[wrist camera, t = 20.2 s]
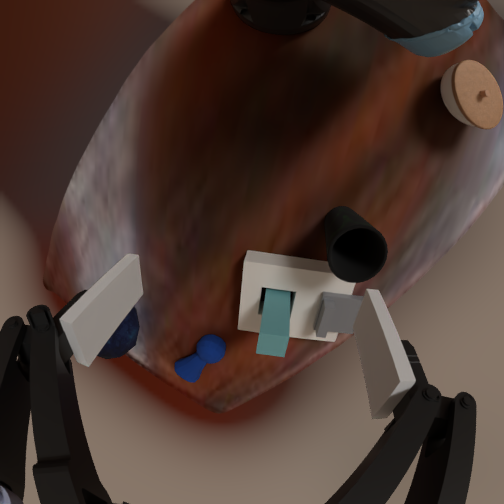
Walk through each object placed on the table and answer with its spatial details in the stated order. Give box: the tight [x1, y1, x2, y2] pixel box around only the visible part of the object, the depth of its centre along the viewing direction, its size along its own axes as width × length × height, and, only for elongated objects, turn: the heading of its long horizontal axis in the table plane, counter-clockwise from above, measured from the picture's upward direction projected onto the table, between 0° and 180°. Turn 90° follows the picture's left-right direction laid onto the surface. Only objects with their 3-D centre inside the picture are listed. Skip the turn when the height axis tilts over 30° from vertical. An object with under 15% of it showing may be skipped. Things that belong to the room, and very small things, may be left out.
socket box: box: [238, 250, 355, 342], centre depth 46 cm, size 14×18×4 cm
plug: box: [256, 288, 290, 357], centre depth 42 cm, size 4×4×14 cm
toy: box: [175, 334, 226, 382], centre depth 56 cm, size 7×6×15 cm
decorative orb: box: [97, 306, 139, 359], centre depth 49 cm, size 14×15×15 cm
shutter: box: [313, 292, 364, 338], centre depth 42 cm, size 7×7×4 cm
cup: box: [325, 206, 388, 283], centre depth 36 cm, size 8×8×12 cm
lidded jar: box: [440, 60, 503, 129], centre depth 25 cm, size 11×11×9 cm
